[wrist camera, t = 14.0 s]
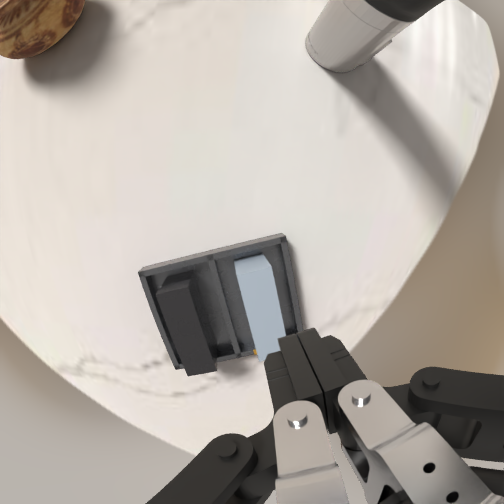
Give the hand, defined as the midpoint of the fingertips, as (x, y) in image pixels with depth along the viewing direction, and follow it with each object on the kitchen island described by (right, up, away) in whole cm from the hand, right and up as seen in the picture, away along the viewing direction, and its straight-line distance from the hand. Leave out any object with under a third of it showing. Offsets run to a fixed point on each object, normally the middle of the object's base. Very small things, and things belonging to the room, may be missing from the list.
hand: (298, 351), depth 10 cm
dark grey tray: (-6, -3, +29) cm, 29 cm away
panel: (-1, -2, +28) cm, 28 cm away
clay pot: (-39, +46, +15) cm, 62 cm away
